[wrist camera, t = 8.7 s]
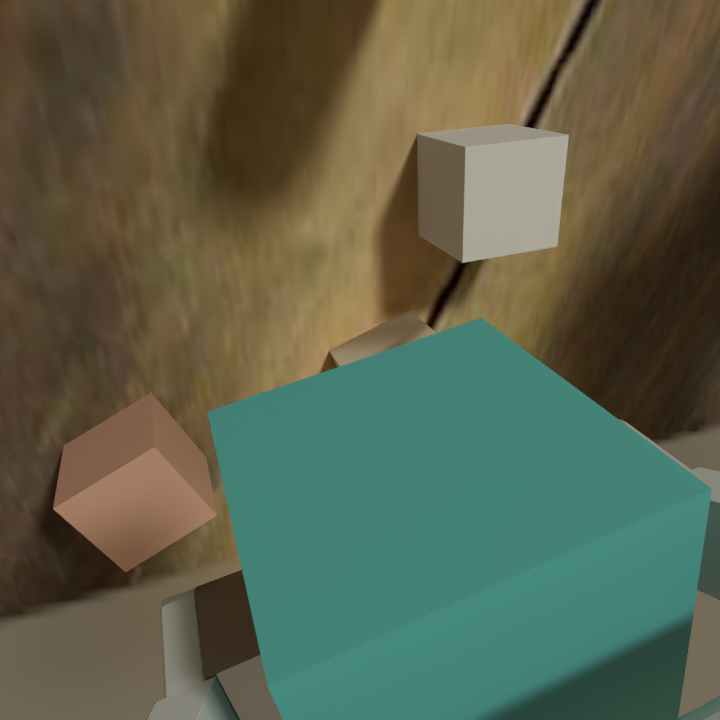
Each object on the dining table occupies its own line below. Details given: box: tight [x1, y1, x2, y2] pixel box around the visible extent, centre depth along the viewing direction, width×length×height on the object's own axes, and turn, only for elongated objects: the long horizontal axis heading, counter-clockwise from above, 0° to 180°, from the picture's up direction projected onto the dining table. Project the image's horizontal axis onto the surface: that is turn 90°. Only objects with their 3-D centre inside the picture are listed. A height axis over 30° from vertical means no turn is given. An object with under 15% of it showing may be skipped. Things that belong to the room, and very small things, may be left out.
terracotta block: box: [53, 393, 217, 572], centre depth 29 cm, size 5×5×5 cm
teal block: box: [208, 318, 712, 720], centre depth 9 cm, size 5×5×5 cm
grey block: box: [417, 124, 569, 263], centre depth 29 cm, size 5×5×5 cm
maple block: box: [329, 310, 436, 367], centre depth 32 cm, size 5×5×5 cm
